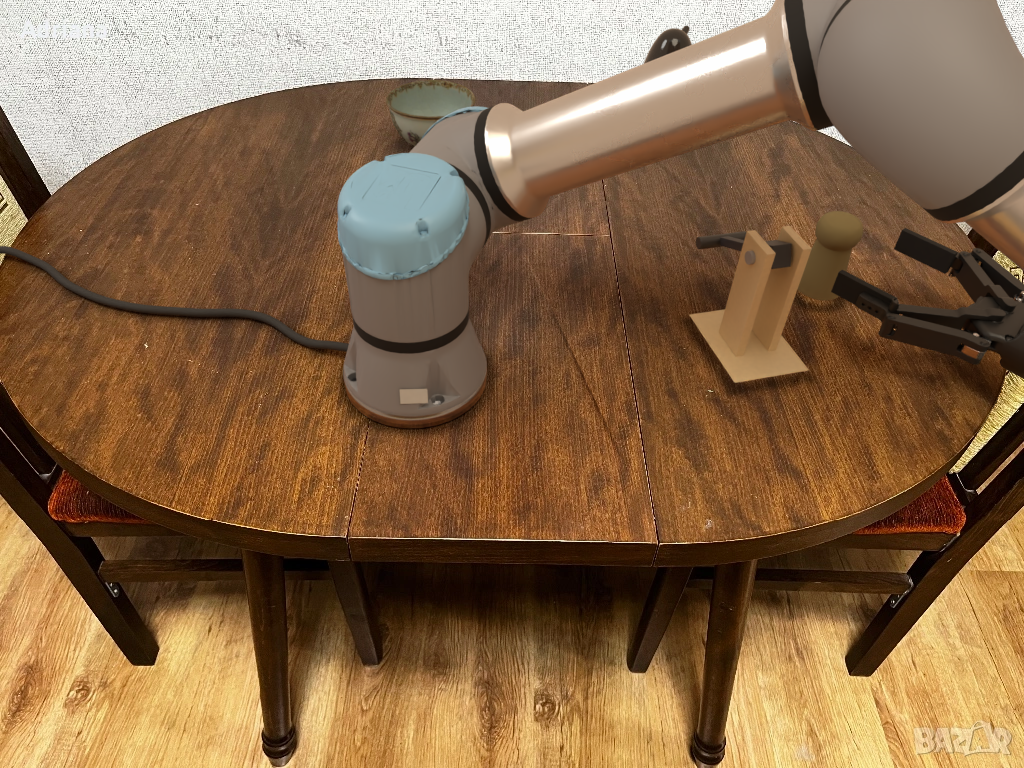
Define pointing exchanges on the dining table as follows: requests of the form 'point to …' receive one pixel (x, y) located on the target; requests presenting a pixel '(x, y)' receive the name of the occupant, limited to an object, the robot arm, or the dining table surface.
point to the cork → (830, 253)
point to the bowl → (425, 105)
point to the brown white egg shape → (669, 43)
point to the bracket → (757, 311)
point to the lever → (736, 243)
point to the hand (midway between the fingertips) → (868, 258)
